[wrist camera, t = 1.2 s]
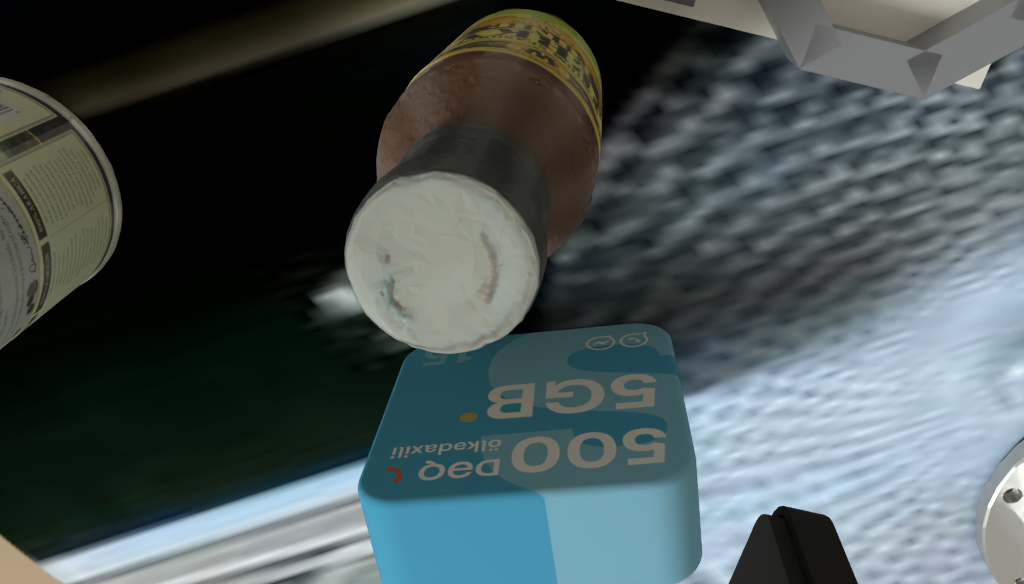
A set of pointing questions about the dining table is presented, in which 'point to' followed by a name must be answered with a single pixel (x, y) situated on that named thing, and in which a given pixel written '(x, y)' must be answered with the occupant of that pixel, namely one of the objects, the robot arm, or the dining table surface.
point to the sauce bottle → (478, 183)
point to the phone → (684, 2)
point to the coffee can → (49, 205)
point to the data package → (537, 464)
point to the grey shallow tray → (876, 36)
